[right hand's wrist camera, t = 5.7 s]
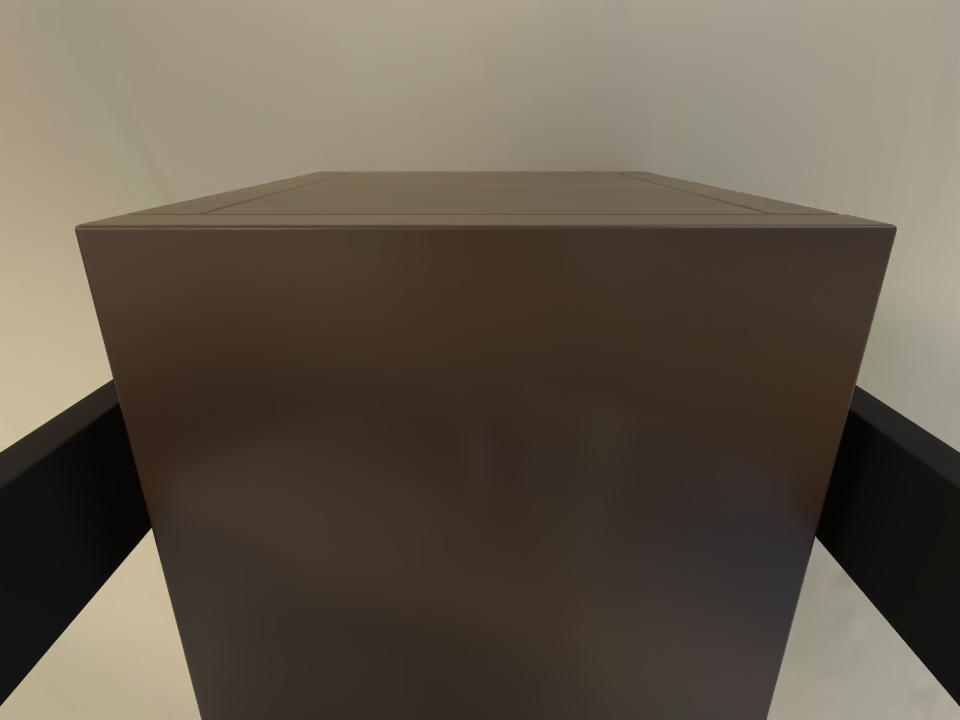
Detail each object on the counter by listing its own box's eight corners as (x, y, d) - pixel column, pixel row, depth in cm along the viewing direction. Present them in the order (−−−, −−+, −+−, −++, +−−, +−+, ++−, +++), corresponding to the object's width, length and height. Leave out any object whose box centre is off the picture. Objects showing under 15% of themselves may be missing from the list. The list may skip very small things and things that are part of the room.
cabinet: (598, 641, 25) (687, 1022, 15) (365, 641, 25) (278, 1022, 15) (646, 171, 18) (899, 225, 7) (318, 171, 18) (70, 225, 7)
